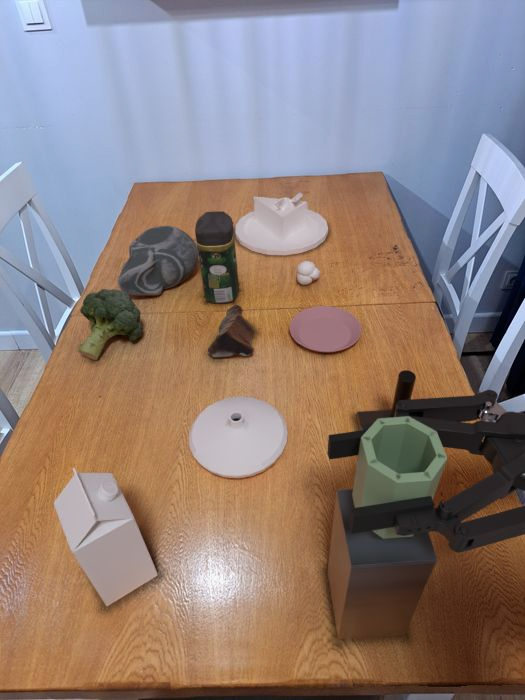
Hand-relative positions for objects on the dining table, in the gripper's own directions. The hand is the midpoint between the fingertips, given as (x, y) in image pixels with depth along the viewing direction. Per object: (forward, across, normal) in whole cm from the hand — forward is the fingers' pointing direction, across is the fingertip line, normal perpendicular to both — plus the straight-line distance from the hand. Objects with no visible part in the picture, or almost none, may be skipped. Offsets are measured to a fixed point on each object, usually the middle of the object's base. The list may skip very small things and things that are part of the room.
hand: (340, 482), depth 42 cm
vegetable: (+30, +57, -28) cm, 70 cm away
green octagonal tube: (-5, 0, -5) cm, 7 cm away
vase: (+8, +27, -28) cm, 40 cm away
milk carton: (+25, +9, -28) cm, 39 cm away
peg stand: (-17, +23, -28) cm, 40 cm away
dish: (-11, +95, -29) cm, 100 cm away
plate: (-12, +51, -28) cm, 60 cm away
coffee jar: (+7, +70, -28) cm, 76 cm away
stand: (-5, 0, -28) cm, 28 cm away
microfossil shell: (-13, +70, -28) cm, 77 cm away
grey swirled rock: (+20, +77, -28) cm, 84 cm away
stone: (+5, +54, -28) cm, 61 cm away
